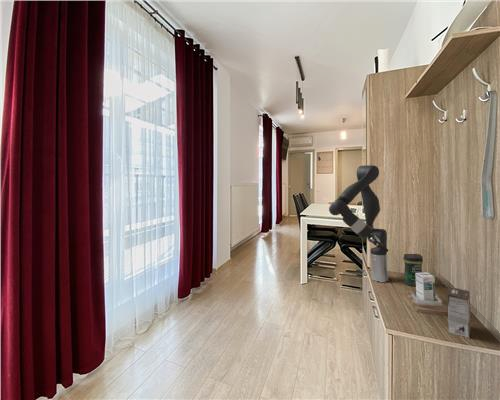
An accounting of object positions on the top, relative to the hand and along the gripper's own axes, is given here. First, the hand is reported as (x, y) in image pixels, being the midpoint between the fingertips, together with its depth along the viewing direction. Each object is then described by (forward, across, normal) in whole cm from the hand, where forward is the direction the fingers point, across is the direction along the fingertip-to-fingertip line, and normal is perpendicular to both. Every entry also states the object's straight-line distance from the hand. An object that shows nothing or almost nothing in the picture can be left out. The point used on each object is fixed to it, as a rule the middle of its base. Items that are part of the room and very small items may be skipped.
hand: (385, 249), depth 124 cm
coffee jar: (+32, +25, +7) cm, 41 cm away
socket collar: (+30, -2, +7) cm, 31 cm away
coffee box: (+35, -22, +4) cm, 42 cm away
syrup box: (+30, -2, +7) cm, 31 cm away
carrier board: (+32, 0, +7) cm, 33 cm away
